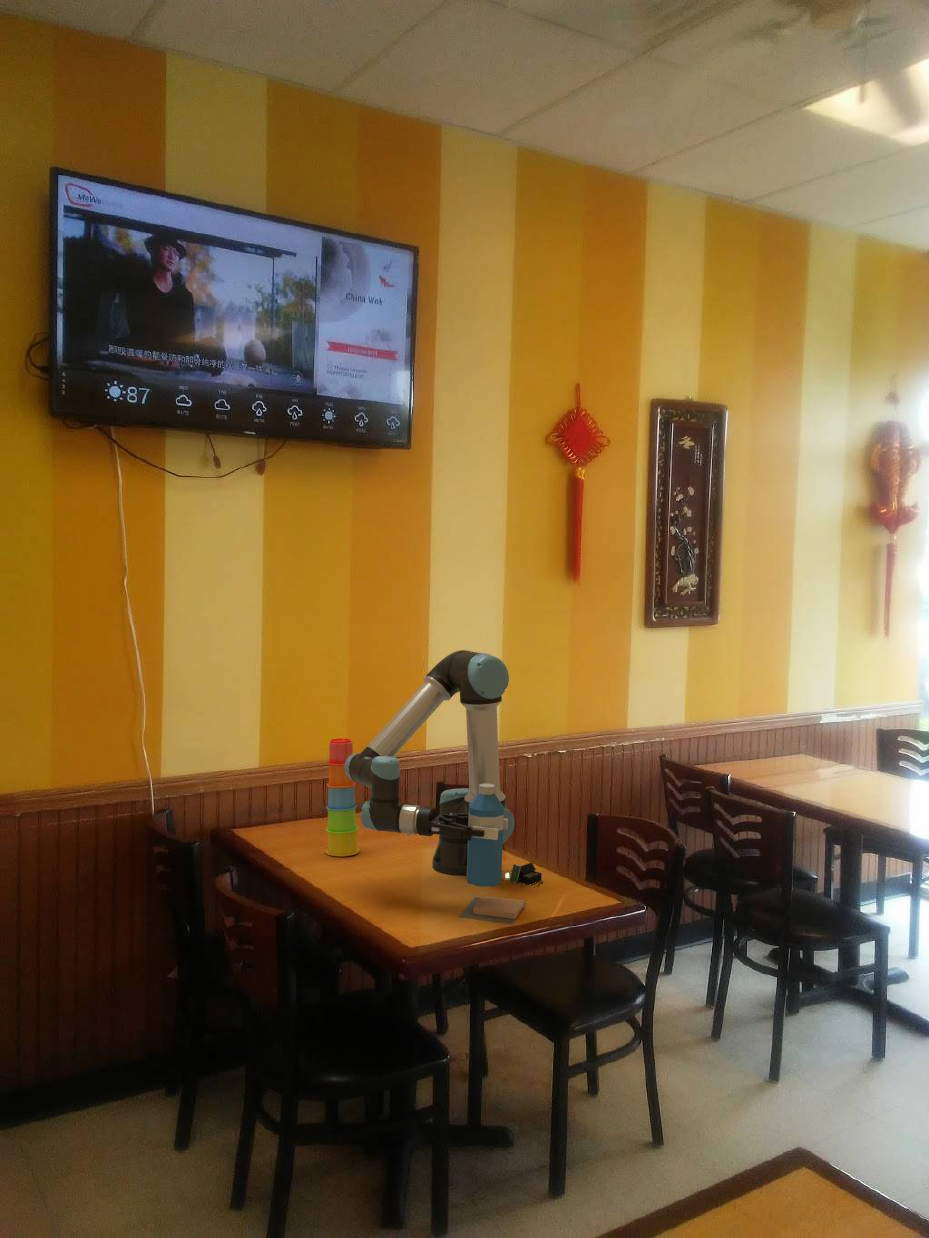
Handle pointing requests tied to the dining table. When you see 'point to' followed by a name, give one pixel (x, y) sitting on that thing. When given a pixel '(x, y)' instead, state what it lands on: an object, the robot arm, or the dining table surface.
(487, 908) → the tile
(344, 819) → the stacking cups
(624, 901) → the dining table surface
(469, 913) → the mat
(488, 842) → the water bottle
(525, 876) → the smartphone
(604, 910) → the dining table surface
